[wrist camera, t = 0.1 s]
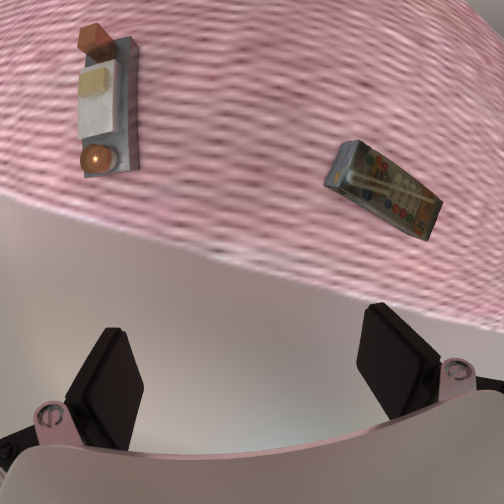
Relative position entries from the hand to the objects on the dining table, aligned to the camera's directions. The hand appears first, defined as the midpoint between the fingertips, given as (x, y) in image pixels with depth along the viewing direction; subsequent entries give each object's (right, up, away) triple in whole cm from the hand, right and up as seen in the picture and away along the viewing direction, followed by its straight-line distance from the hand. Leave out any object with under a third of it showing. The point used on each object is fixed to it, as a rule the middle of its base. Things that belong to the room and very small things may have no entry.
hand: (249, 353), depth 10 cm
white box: (-19, +24, +19) cm, 36 cm away
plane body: (-20, +25, +23) cm, 39 cm away
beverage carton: (+20, +14, +31) cm, 40 cm away
